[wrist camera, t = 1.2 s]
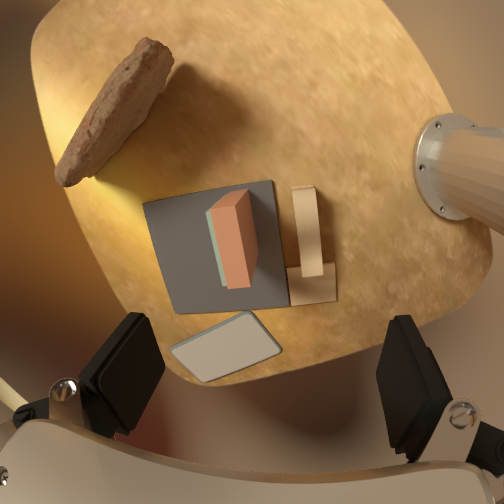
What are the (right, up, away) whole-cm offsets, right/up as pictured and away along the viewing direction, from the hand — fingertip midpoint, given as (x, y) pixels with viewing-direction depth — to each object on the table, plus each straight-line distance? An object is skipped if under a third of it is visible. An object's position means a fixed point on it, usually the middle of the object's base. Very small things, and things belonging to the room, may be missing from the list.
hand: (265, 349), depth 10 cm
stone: (-14, +19, +17) cm, 29 cm away
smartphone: (-5, -10, +28) cm, 30 cm away
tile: (-1, +7, +20) cm, 21 cm away
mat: (-5, +3, +22) cm, 23 cm away
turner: (+6, +4, +20) cm, 22 cm away
